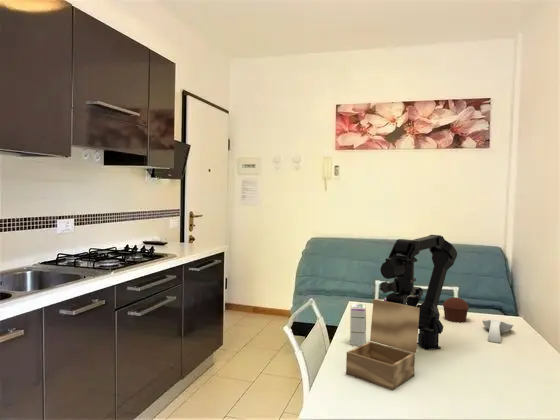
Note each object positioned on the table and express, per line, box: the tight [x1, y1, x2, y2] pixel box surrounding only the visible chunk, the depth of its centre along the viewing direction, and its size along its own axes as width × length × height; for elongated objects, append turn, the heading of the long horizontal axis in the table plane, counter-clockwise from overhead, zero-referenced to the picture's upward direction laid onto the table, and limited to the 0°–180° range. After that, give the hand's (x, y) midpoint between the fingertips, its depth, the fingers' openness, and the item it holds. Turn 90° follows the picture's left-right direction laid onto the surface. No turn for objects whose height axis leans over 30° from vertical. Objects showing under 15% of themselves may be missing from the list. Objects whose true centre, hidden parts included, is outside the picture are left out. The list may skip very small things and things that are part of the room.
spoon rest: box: [482, 319, 514, 344], centre depth 178 cm, size 24×12×7 cm, turn 151°
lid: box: [369, 298, 420, 354], centre depth 141 cm, size 14×16×1 cm
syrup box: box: [349, 303, 367, 347], centre depth 164 cm, size 6×6×14 cm
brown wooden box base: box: [345, 341, 416, 391], centre depth 135 cm, size 14×16×7 cm
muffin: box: [442, 297, 470, 324], centre depth 198 cm, size 12×11×10 cm
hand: (404, 319), depth 152 cm, fingers open, 9 cm apart
